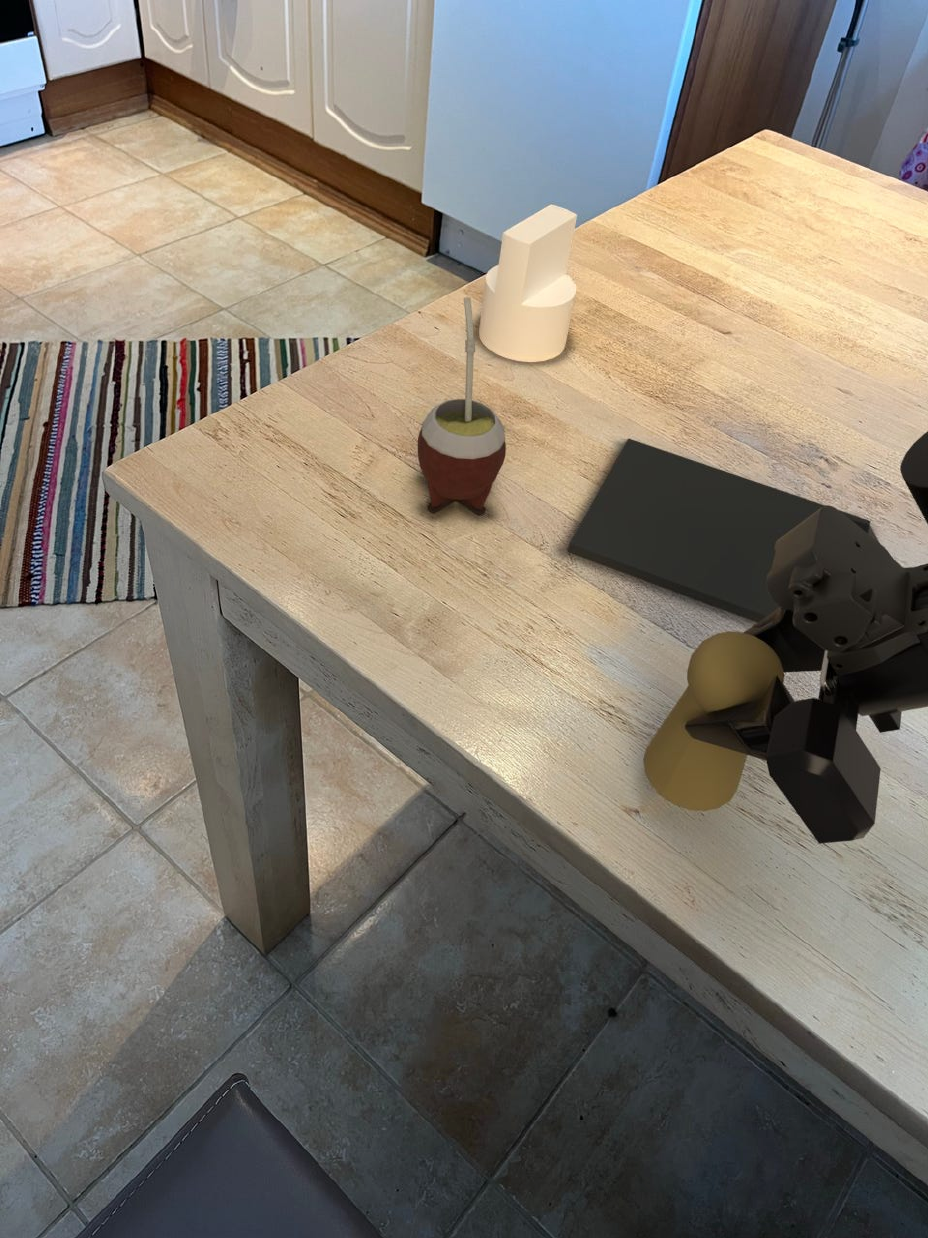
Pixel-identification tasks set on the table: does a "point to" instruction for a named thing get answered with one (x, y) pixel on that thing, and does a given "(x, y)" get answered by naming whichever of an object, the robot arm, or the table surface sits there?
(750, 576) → the mat
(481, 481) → the mate gourd
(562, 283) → the base with upright slab
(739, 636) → the mustard peg figure
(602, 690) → the table surface
